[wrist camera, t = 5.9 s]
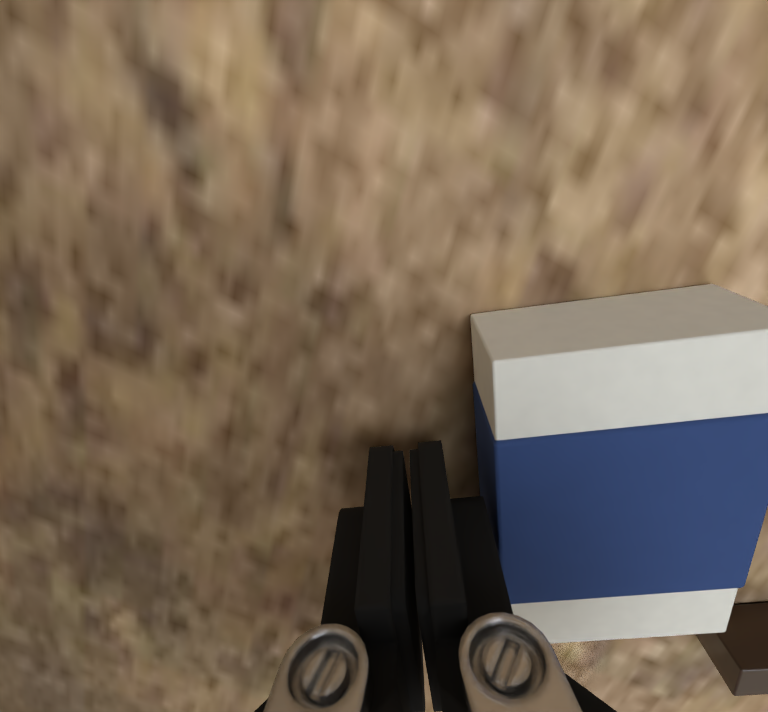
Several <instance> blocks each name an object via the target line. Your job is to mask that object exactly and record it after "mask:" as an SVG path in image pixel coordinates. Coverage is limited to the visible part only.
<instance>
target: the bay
mask: <svg viewBox="0 0 768 712" xmlns="http://www.w3.org/2000/svg"><path fill="white" fill-rule="evenodd" d="M696 636H697V637H698V639H699V641H700V642H701V644H702V645H703V647H704V649H705V650H706V652H707V654H708V655H709V657H710V658H711V660H712V662H713V663H714V665H715V666H716V668H717V670H718V671H719V673H720V675H721V676H722V678H723V679H724V681H725V683H726V684H727V686H728V687H729V689H730V691H731V692H732V694H733V695H734V696H743V695H760V694H768V603H754V604H741V605H733V607H732V611H731V614H730V618H729V621H728V625H727V628H726V631H725V632H722V633H706V634H696Z"/></svg>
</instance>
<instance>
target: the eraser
mask: <svg viewBox="0 0 768 712" xmlns="http://www.w3.org/2000/svg"><path fill="white" fill-rule="evenodd" d="M470 319H471V334H472V350H473V365H474V383H473V395H474V410H475V425H476V440H477V455H478V470H479V485H480V496H483V498H484V500H485V504H486V508H487V512H488V516H489V520H490V524H491V528H492V532H493V536H494V539H495V543H496V547H497V551H498V555H499V559H500V563H501V567H502V571H503V575H504V579H505V583H506V587H507V591H508V595H509V599H510V603H511V607H512V611H513V614H514V615H518V616H520V617H522V618H524V619H526V620H528V621H529V622H531V623H533V624H534V625H535V626H536V627H537V628H538V629H539V630H540V631H541V632H542V633H543V634H544V635H545V637H546V638H547V640H548V641H549V643H566V642H582V641H597V640H613V639H628V638H644V637H660V636H675V635H691V634H706V633H722V632H725V631H726V628H727V625H728V621H729V618H730V614H731V611H732V607H733V604H734V600H735V597H736V593H737V589H738V588H741V587H743V586H744V585H745V582H746V579H747V575H748V572H749V568H750V565H751V561H752V558H753V554H754V551H755V548H756V544H757V541H758V537H759V534H760V530H761V527H762V523H763V520H764V516H765V513H766V510H767V506H768V306H766V305H763V304H761V303H759V302H756V301H754V300H751V299H749V298H747V297H744V296H742V295H739V294H737V293H734V292H732V291H730V290H727V289H725V288H722V287H720V286H718V285H715V284H706V285H698V286H691V287H683V288H675V289H667V290H659V291H651V292H643V293H635V294H627V295H619V296H611V297H603V298H595V299H587V300H579V301H571V302H563V303H555V304H548V305H540V306H532V307H524V308H516V309H508V310H500V311H492V312H484V313H476V314H471V316H470Z"/></svg>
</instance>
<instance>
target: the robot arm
mask: <svg viewBox="0 0 768 712" xmlns="http://www.w3.org/2000/svg"><path fill="white" fill-rule="evenodd" d="M409 453H410V476H411V500H412V507H411V501H410V494H409V487H408V481H407V474H406V468H405V461H404V455H403V451H394V447H393V445H389V446H379V447H370V448H369V457H368V467H367V478H366V489H365V499H364V507H354V508H342V509H341V510H340V511H339V516H338V521H337V527H336V534H335V540H334V546H333V552H332V558H331V565H330V571H329V577H328V583H327V589H326V595H325V602H324V608H323V614H322V620H321V625H320V626H317V627H315V628H312V629H310V630H308V631H307V632H305V633H304V634H303V635H301V636H300V637H298V638H297V639H296V641H295V642H294V643H293V644H292V645H291V646H290V648H289V649H288V650H287V652H286V654H285V656H284V658H283V660H282V662H281V664H280V667H279V670H278V672H277V675H276V678H275V681H274V683H273V686H272V689H271V692H270V694H269V697H268V699H267V700H266V701H265V702H264V703H263V704H262V705H261V706H260V707H259V708H258V709H257V710H255V711H254V712H425V692H424V673H423V653H422V643H423V649H424V655H425V661H426V667H427V673H428V679H429V685H430V691H431V697H432V703H433V709H434V712H436V711H443V712H617V711H615V710H614V709H612V708H611V707H610V706H608V705H607V704H606V703H604V702H603V701H602V700H600V699H599V698H598V697H596V696H595V695H594V694H592V693H591V692H590V691H588V690H587V689H586V688H584V687H583V686H581V685H580V684H579V683H577V682H576V681H575V680H573V679H572V678H571V677H569V676H568V675H567V674H565V673H564V671H563V669H562V667H561V665H560V663H559V661H558V658H557V656H556V654H555V652H554V650H553V648H552V646H551V644H550V643H549V641H548V640H547V638H546V637H545V635H544V634H543V633H542V632H541V631H540V630H539V629H538V628H537V627H536V626H535V625H534V624H533V623H531V622H529V621H528V620H526V619H524V618H522V617H520V616H518V615H514V614H513V611H512V607H511V603H510V599H509V595H508V591H507V587H506V583H505V579H504V575H503V571H502V567H501V563H500V559H499V555H498V551H497V547H496V543H495V539H494V536H493V532H492V528H491V524H490V520H489V516H488V512H487V508H486V504H485V500H484V498H483V496H477V497H466V498H454V499H450V494H449V488H448V481H447V475H446V468H445V462H444V455H443V449H442V443H441V440H439V441H429V442H419V443H418V449H413V450H409Z"/></svg>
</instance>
